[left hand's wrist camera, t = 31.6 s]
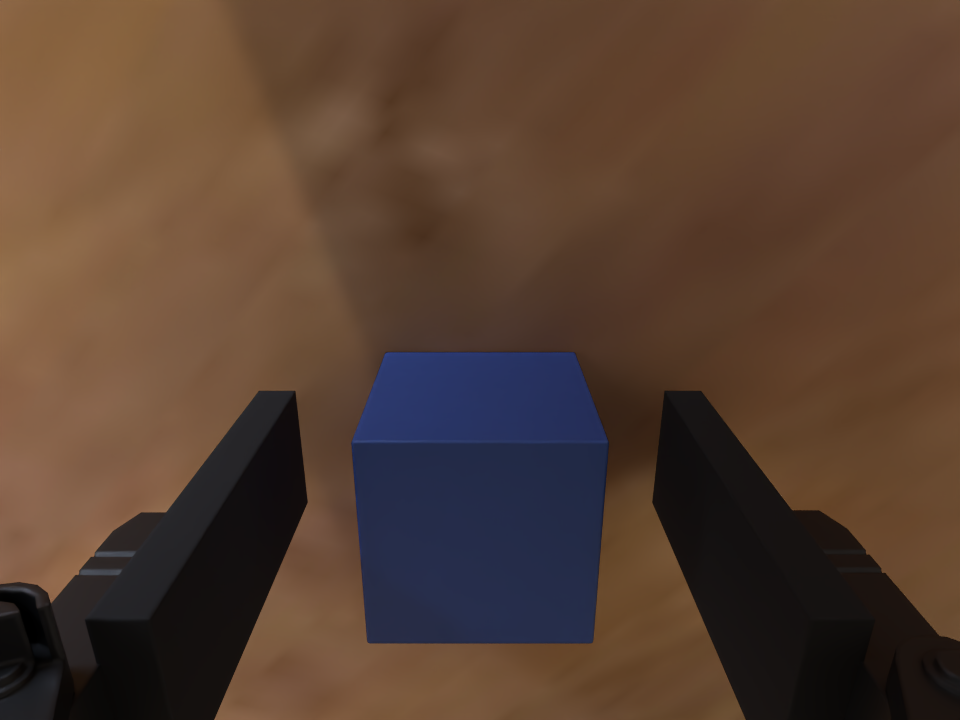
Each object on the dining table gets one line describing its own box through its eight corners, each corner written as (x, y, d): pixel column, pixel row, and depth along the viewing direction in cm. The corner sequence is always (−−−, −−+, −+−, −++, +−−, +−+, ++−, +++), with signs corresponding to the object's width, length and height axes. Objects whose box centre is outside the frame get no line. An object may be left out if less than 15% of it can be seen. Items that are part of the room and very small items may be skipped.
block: (393, 514, 16) (367, 644, 12) (384, 351, 14) (351, 441, 10) (566, 514, 16) (593, 644, 12) (575, 351, 14) (610, 441, 10)
